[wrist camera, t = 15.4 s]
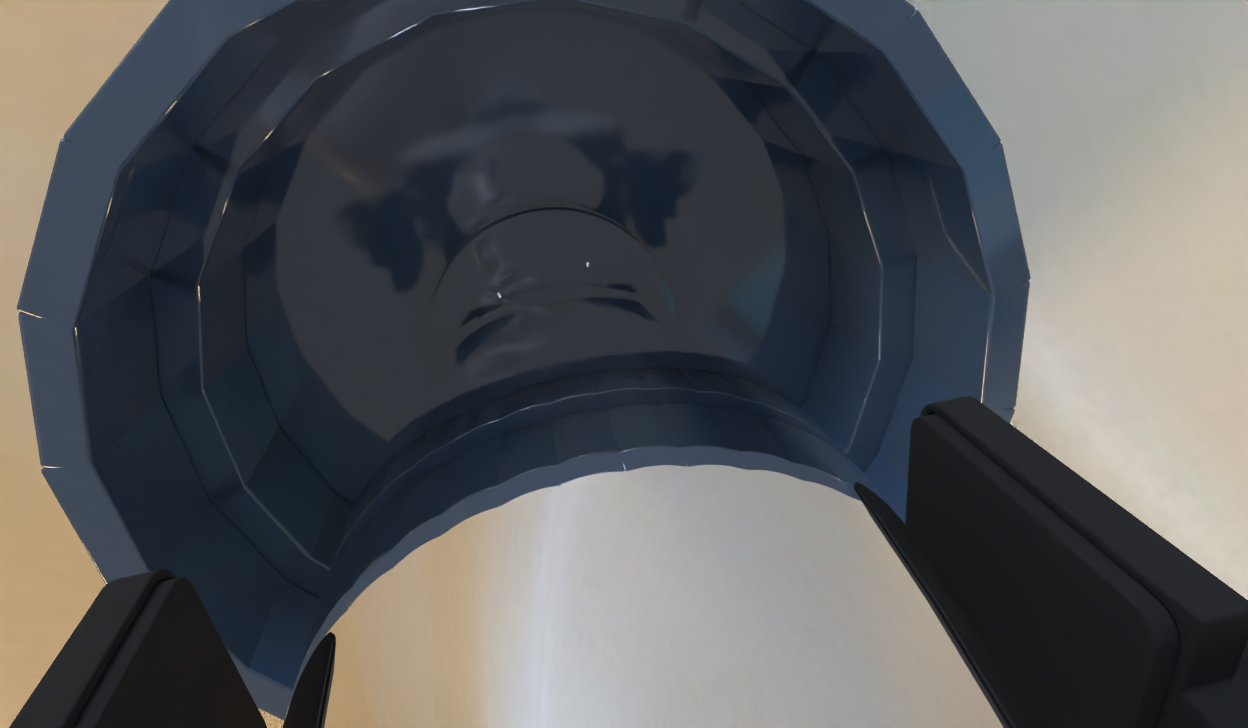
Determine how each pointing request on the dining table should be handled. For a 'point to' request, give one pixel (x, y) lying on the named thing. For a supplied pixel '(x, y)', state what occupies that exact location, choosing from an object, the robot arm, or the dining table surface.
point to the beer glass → (624, 532)
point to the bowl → (452, 216)
